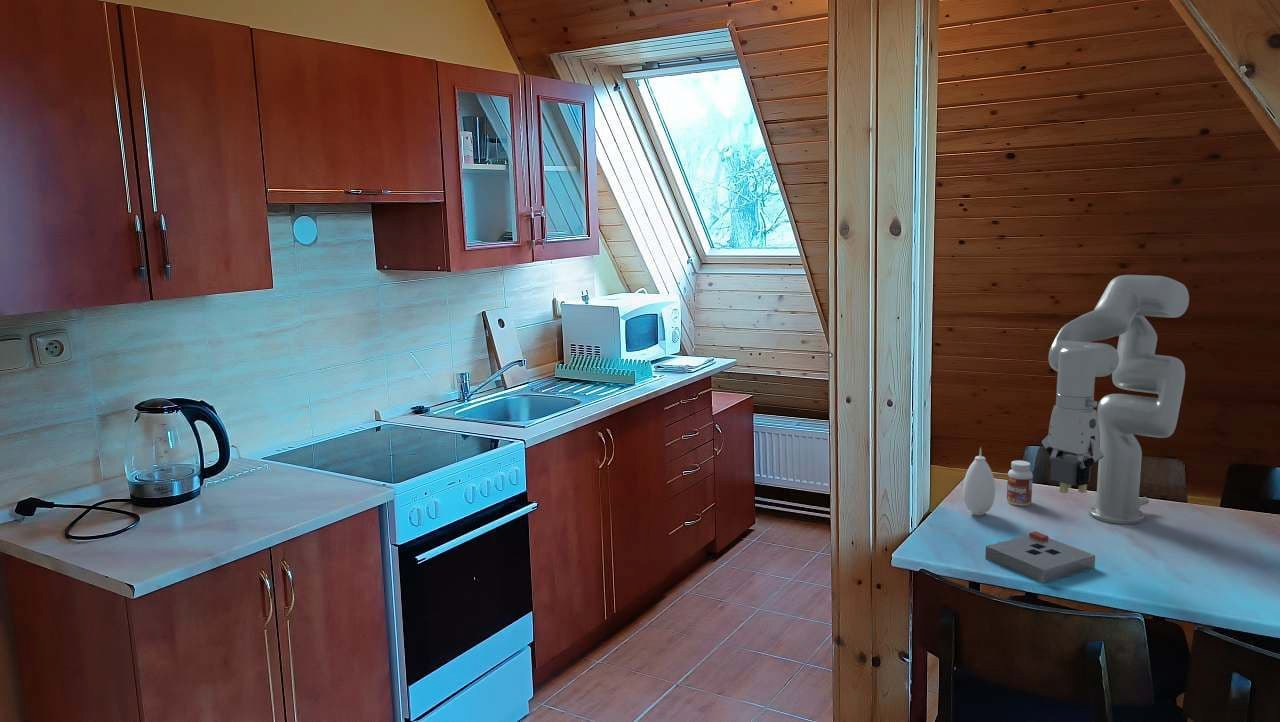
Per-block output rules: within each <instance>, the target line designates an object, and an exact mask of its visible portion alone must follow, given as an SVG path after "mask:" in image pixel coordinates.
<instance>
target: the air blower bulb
mask: <svg viewBox="0 0 1280 722" xmlns="http://www.w3.org/2000/svg"><path fill="white" fill-rule="evenodd" d="M962 485H963V486H962V495H963V500H964V504H965V506H966V508H967V510H968V511H970V513H971V514H973V515H975V516H978V517H979V516H982V515H985V514H986V513H988V512H990V509H991V508H992V507H993V505H994V502H995V498H996V484H995V479H994V474H993V471H992V469H991V467H990V465H989V464H988V462H987V460H986V457H985V456H983V455H982V446H981V447H979V455H977V456H975V457H974V459H973V461H972V463H970V465H969V467H968V469H967V471H966V473H965V476H964V481H963V484H962Z"/></svg>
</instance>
